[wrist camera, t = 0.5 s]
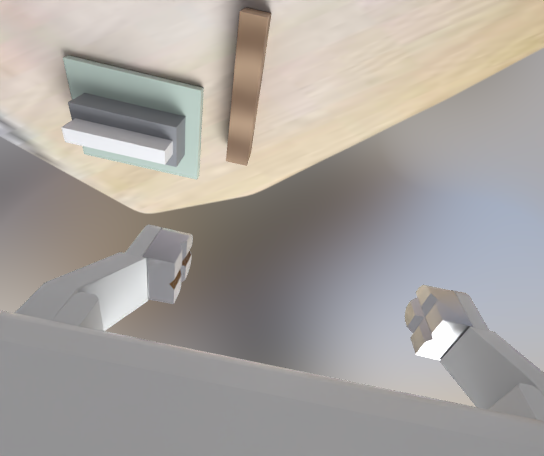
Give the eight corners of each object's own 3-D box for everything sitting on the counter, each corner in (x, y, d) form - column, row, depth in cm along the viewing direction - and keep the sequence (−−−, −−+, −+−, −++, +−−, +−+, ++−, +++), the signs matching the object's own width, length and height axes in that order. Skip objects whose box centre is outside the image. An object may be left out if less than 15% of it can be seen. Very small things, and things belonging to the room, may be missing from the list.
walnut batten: (246, 7, 36) (239, 11, 33) (271, 12, 36) (267, 17, 33) (231, 148, 48) (226, 161, 45) (251, 152, 48) (246, 165, 45)
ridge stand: (68, 55, 41) (25, 71, 35) (203, 87, 42) (184, 109, 36) (88, 150, 50) (57, 176, 44) (199, 175, 51) (183, 204, 45)
